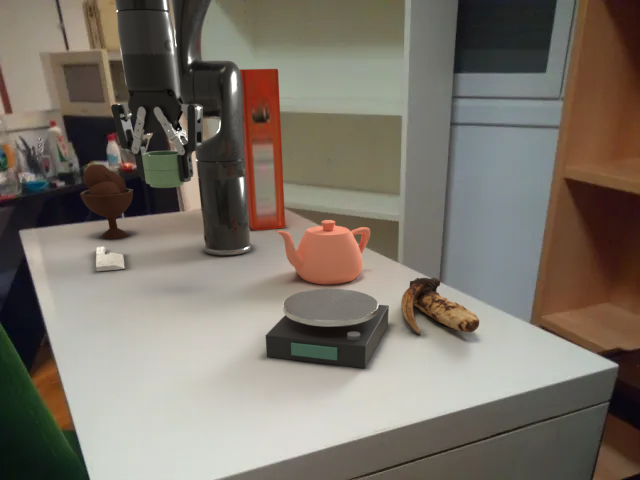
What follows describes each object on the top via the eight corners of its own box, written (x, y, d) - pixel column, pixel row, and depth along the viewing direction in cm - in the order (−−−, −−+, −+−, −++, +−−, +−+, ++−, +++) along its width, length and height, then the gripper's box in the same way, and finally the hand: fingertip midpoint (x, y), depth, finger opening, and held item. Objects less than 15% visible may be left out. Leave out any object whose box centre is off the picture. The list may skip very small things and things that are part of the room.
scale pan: (300, 290, 85) (300, 285, 85) (386, 298, 82) (386, 292, 82) (269, 321, 75) (269, 315, 75) (366, 331, 72) (366, 325, 72)
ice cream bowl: (126, 242, 128) (113, 167, 120) (79, 240, 130) (63, 166, 122) (148, 231, 137) (137, 160, 129) (104, 229, 139) (90, 160, 131)
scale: (302, 316, 89) (301, 293, 87) (387, 325, 85) (389, 301, 84) (265, 357, 76) (264, 331, 74) (364, 369, 73) (365, 342, 71)
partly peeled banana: (375, 307, 93) (431, 348, 78) (375, 278, 91) (433, 314, 76) (428, 298, 95) (492, 336, 81) (430, 269, 93) (496, 303, 78)
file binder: (251, 230, 137) (241, 68, 120) (237, 215, 151) (226, 69, 134) (285, 228, 139) (279, 68, 122) (268, 213, 153) (261, 69, 137)
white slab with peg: (122, 249, 123) (121, 244, 122) (124, 269, 111) (123, 263, 110) (97, 251, 122) (96, 245, 121) (96, 271, 109) (94, 265, 109)
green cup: (159, 181, 95) (155, 150, 92) (193, 182, 93) (190, 151, 91) (138, 187, 90) (133, 155, 87) (174, 189, 88) (170, 156, 86)
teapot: (384, 278, 105) (387, 223, 100) (290, 293, 98) (288, 234, 93) (352, 261, 114) (353, 210, 109) (265, 273, 108) (262, 219, 103)
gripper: (207, 51, 84) (219, 178, 92) (119, 53, 87) (138, 175, 96) (182, 50, 77) (197, 186, 86) (88, 52, 81) (111, 182, 90)
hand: (166, 180), depth 91 cm, fingers closed on green cup, 6 cm apart
